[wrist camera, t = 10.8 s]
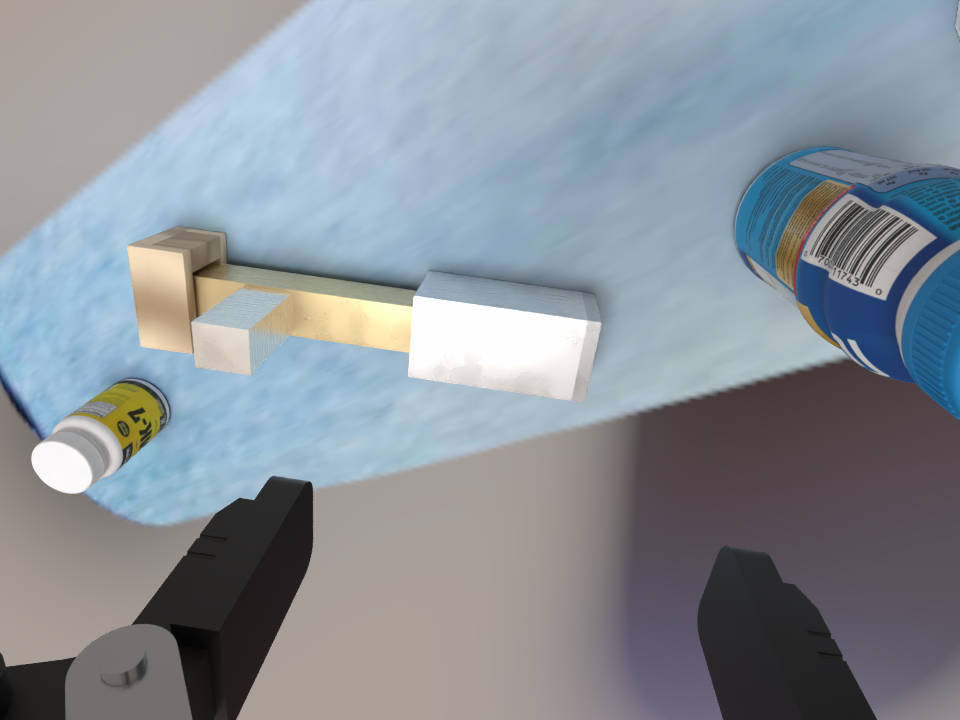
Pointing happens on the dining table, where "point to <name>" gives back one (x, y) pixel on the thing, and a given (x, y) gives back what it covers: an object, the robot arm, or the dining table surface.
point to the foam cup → (958, 20)
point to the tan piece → (289, 314)
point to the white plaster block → (504, 336)
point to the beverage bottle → (865, 258)
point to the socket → (170, 283)
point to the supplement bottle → (101, 436)
